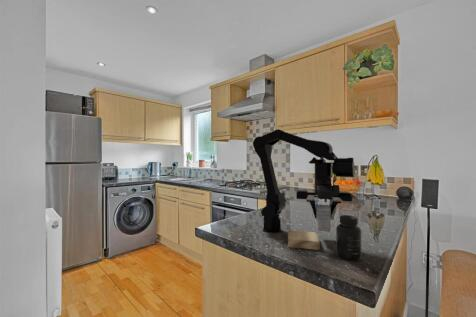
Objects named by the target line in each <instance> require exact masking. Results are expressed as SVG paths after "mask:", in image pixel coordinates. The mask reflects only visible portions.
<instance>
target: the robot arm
mask: <svg viewBox="0 0 476 317" xmlns="http://www.w3.org/2000/svg"><path fill="white" fill-rule="evenodd" d="M280 141H283V142H285V143H287V144H291V145H293V146H297V147H298V148H302V149H304V150H306V151H307V152H308V153H311V155H313V156H315V157H313V158H311V160H309V161H308V163H309V164H313V165H314V191H308V190H307V189H297V190H296V192H295V197H296V199H297V200H305V202H308V203H309V204H310V206H311V209H312V212H313V216H314V219H316V217H317V214H316V206H315V205H316V200H315V198H317V199H318V200H329V203H328V205H329V206H330V208H331V217H332V216H333V213H334V212H335V209H336V208H337V205H338V204H342V201H343V202H353V194H352V193H351V192H349V191H346V190H345V191H343V190H341V191H340V185H339V184H332V174H333V175H335V177H337V178H338V177H339V178H355V176H356V175H355V174H356V173H355V172H356V167H355V162H354V159H355V158H354V157H346V158H345V157H343V158H342V157H341V158H340V157H338V156H337V155H336V154H335V153H334V152H333V146H332V145H331V144H330V143H328V142H325V141H320V140H316V139H314V140H313V139H307V138H305V137H301V136H298V135H297V134H296V135H295V134H292V133H289V132H286V131H284V130H282V129H280V128H277V129H275V130H273V131H271V132H268V133H266V134H262V135H261V136H256V137H255V138H254V139H253V141H252V146H253V149H254V152H255V153H256V155H257V156H258V158H259V159H260V165H261V169H262V173H263V178H264V183H265V186H266V197H265V203H266V204H265V206H264V207H263V208H262V209H261V210H260V213H261V216H262V217H263V227H262V231H263V232H272V233H279V232H280V230H281V228H282V227H281V226H282V225H281V223H282V222H281V220H282V219H281V217H280V214H282V211H283V210H284V209H285V207H286V203H287V202H288V201H287V199H286V197H285V196H286V194H285V191H284V192H281V191H280V189H279V187H278V182H277V178H276V174H275V169H274V165H273V164H274V163H273V160H272V152H273V146H274V145H276V144H277V143H279V142H280ZM316 157H317V158H319V159H317V158H316ZM320 158H323V159H320ZM326 160H327V161H329V162H327V161H326ZM330 161H331V162H330ZM332 161H333V162H332Z"/></svg>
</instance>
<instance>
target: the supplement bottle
mask: <svg viewBox="0 0 476 317" xmlns="http://www.w3.org/2000/svg"><path fill="white" fill-rule="evenodd" d="M358 220H359V217H357V216H354V215H351V214H350V215H348V214H342V215H340V216H339V224H338V225H337V226H336V229H335V230H336V231H335V232H336V233H335V234H336V235H335V240H336V241H335V242H336V248H335V250H336V251H335V252H336V256H338V258H340V259H342V260H345V261H348V262H349V261H350V262H357V261H360V260H361V258H362V229H361V227H359V226H358V225H359V221H358Z"/></svg>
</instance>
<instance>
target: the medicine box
mask: <svg viewBox="0 0 476 317" xmlns="http://www.w3.org/2000/svg"><path fill="white" fill-rule="evenodd" d="M315 206H316V214H317V217H316V219H315V218H314V219H315V221H314V222H315V223H314V224H315V227H316V229H317V231H318V232H328V233H330V232H331V228H332V226H331V221H332V220H331V219H332V216H331V208H330V206H329V203H328V202H322V201H318V202H317V201H315Z"/></svg>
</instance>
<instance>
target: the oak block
mask: <svg viewBox="0 0 476 317" xmlns="http://www.w3.org/2000/svg"><path fill="white" fill-rule="evenodd" d="M320 247H321V246H320V239H319V236H318V234H317V232H315V231H304V230H291V229H288V230H287V248H295V249H297V248H298V249H305V250H307V249H308V250H317V251H319V250H320Z"/></svg>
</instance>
